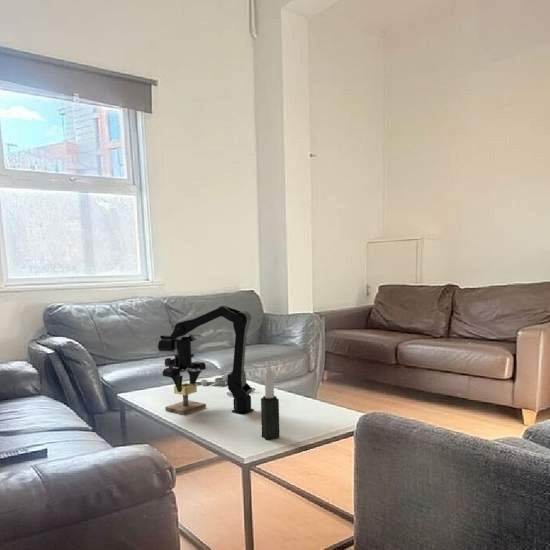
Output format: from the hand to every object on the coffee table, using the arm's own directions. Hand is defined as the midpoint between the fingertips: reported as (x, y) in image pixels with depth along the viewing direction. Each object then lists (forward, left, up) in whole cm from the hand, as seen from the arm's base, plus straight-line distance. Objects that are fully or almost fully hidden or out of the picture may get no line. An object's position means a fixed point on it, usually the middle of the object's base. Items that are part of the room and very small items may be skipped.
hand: (185, 390), depth 196 cm
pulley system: (+21, -38, -8) cm, 44 cm away
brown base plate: (0, 0, -8) cm, 8 cm away
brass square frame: (0, 0, -1) cm, 1 cm away
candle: (-49, +7, -8) cm, 50 cm away
